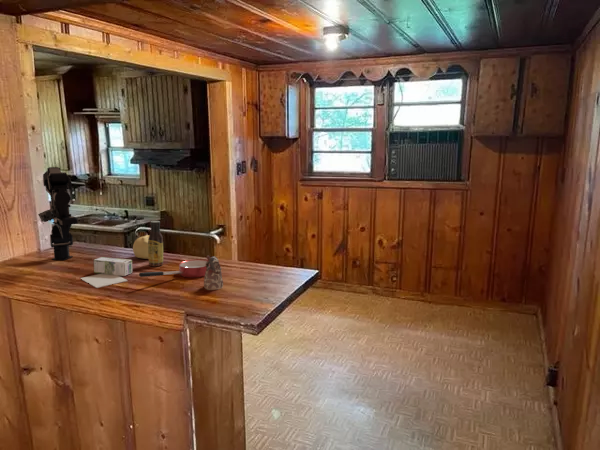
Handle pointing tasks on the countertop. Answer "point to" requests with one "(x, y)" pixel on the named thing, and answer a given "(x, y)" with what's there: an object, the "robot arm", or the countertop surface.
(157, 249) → the sauce bottle
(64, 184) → the robot arm
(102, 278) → the mat
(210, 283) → the figurine
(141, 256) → the tan rounded lump
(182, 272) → the frying pan
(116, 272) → the syrup box
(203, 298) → the countertop surface
